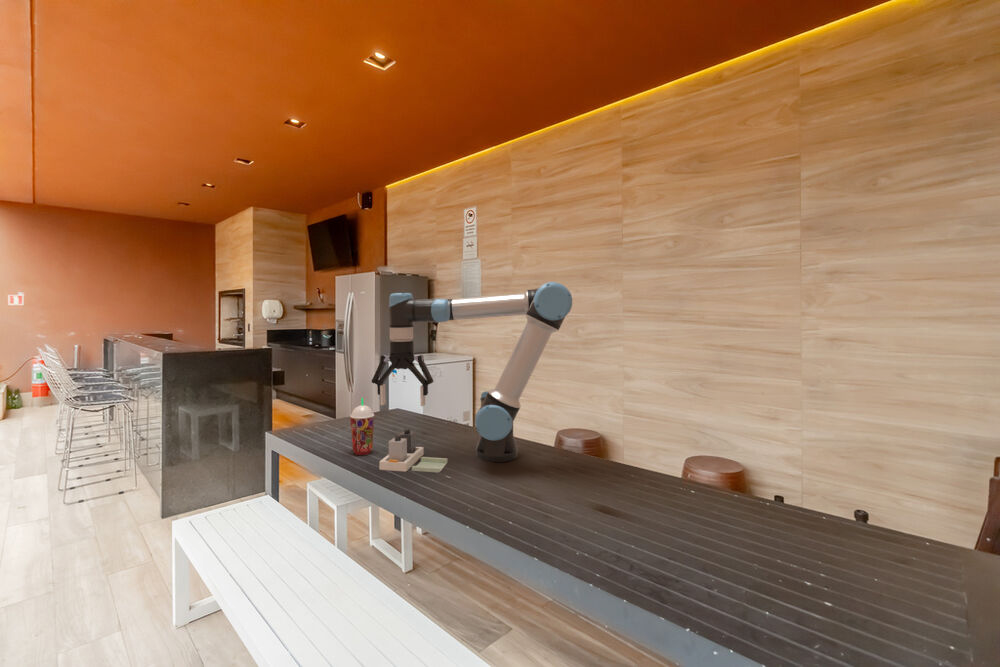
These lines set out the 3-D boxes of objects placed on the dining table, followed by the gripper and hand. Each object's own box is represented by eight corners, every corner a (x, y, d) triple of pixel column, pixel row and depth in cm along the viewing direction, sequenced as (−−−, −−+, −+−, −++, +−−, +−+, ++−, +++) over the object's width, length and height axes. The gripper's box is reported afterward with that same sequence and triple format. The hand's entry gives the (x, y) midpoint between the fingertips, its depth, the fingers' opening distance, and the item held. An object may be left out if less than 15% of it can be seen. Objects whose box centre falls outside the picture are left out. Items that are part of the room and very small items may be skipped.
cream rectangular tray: (423, 455, 159) (423, 426, 158) (406, 472, 142) (406, 439, 141) (399, 454, 160) (399, 425, 159) (379, 470, 143) (379, 438, 143)
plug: (406, 462, 148) (406, 434, 148) (401, 466, 144) (401, 437, 144) (394, 461, 149) (394, 433, 149) (388, 466, 145) (388, 437, 144)
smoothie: (370, 456, 157) (370, 400, 156) (346, 456, 157) (346, 399, 156) (377, 449, 165) (377, 395, 164) (355, 449, 165) (354, 395, 164)
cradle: (447, 463, 151) (447, 458, 151) (439, 473, 141) (439, 468, 141) (422, 461, 152) (422, 456, 152) (411, 471, 143) (411, 466, 142)
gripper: (441, 339, 148) (442, 403, 149) (370, 339, 151) (371, 401, 152) (435, 341, 141) (436, 408, 142) (360, 341, 144) (361, 406, 145)
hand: (402, 405), depth 147 cm, fingers open, 13 cm apart
